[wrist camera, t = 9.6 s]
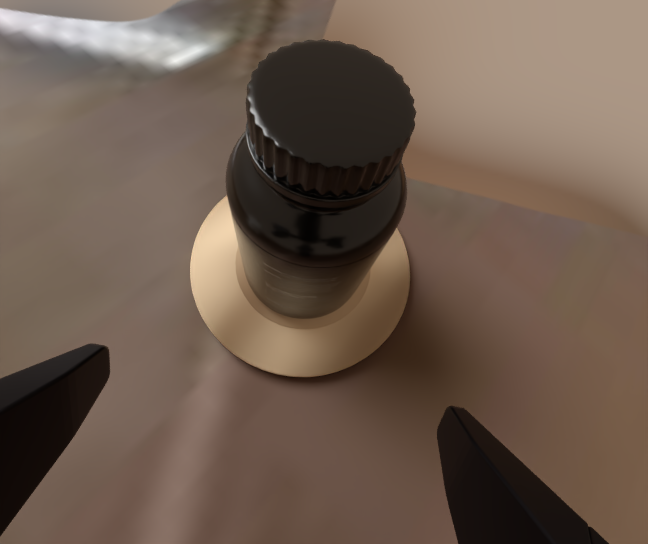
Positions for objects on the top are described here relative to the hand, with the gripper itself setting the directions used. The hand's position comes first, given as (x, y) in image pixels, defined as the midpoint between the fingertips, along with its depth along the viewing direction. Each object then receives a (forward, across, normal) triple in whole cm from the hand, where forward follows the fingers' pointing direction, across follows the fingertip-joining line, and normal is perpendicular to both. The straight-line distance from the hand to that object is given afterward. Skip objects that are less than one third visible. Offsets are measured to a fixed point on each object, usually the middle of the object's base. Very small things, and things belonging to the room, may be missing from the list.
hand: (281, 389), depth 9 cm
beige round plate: (+13, 0, +2) cm, 13 cm away
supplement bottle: (+12, 0, +1) cm, 12 cm away
